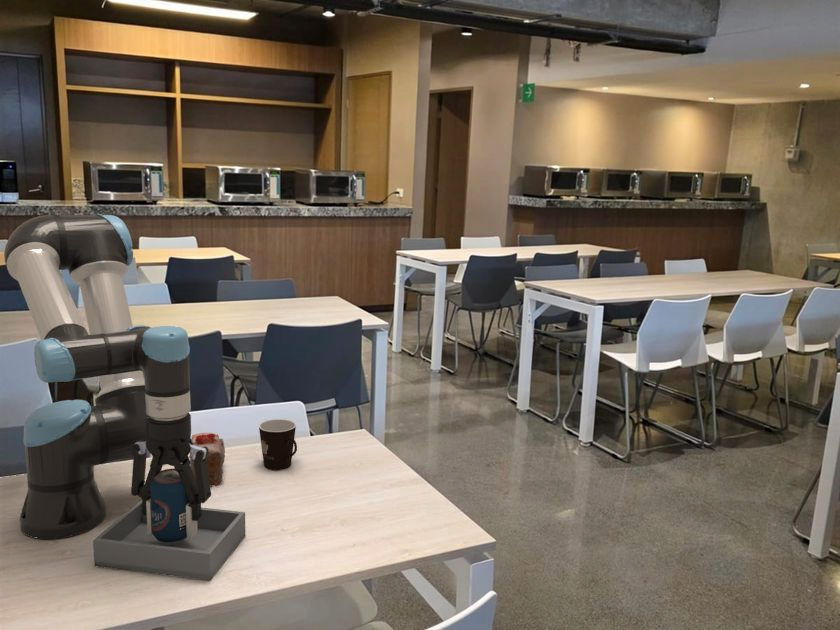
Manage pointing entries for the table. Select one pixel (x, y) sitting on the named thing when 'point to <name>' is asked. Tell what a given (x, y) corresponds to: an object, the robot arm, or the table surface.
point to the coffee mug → (277, 443)
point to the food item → (210, 455)
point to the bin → (170, 545)
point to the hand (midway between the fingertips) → (172, 533)
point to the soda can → (168, 507)
